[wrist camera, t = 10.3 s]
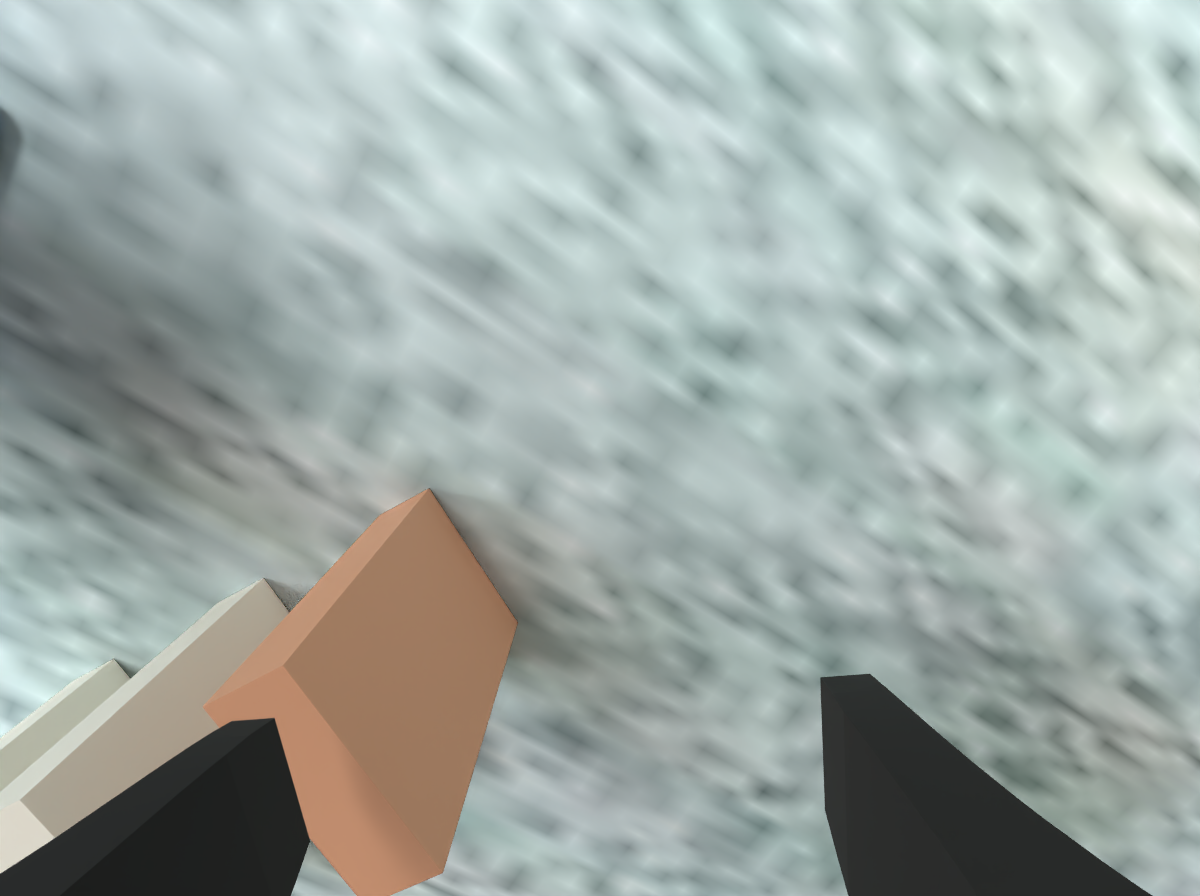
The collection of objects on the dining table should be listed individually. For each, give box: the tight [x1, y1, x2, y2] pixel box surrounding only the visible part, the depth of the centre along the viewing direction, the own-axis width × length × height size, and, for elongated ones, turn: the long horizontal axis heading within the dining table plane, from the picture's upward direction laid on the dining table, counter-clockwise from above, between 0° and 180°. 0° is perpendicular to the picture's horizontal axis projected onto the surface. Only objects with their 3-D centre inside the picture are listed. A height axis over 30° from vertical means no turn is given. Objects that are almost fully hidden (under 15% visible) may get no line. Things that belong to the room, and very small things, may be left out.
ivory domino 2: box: [0, 578, 289, 873], centre depth 16 cm, size 2×4×8 cm, turn 29°
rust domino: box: [203, 489, 518, 896], centre depth 15 cm, size 2×4×8 cm, turn 30°
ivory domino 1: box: [0, 659, 130, 792], centre depth 17 cm, size 2×4×8 cm, turn 29°
